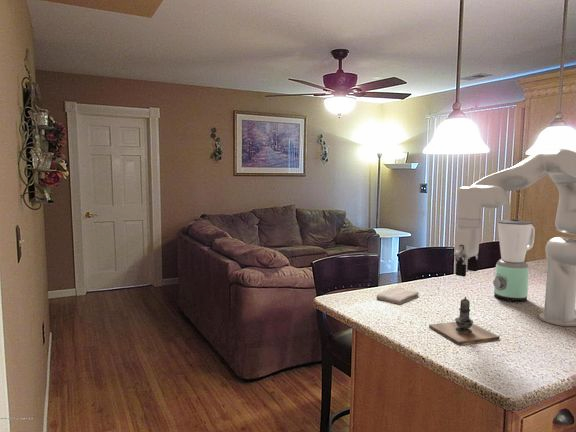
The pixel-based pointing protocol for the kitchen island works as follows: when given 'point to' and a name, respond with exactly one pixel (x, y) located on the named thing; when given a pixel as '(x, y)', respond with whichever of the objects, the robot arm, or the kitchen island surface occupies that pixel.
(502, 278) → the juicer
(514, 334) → the kitchen island surface
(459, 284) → the kitchen island surface
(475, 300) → the kitchen island surface
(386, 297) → the washcloth
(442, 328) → the walnut board
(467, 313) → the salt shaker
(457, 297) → the kitchen island surface
